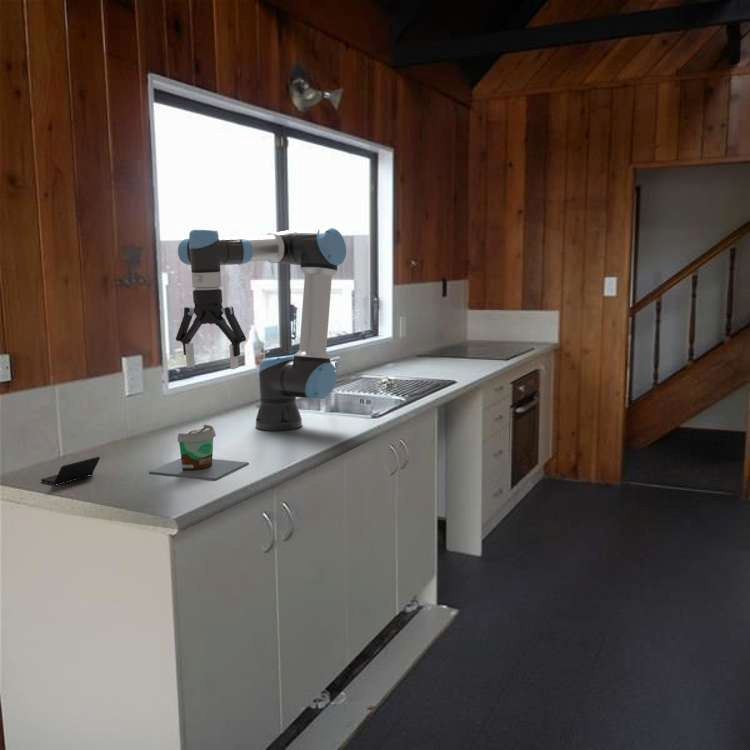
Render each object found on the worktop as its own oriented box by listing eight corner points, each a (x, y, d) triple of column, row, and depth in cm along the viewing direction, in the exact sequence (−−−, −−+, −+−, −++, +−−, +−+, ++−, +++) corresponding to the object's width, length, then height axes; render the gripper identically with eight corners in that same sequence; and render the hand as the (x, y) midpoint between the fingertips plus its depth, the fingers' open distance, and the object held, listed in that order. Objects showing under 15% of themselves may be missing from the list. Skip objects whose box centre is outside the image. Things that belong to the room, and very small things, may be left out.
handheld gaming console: (71, 465, 193) (84, 439, 189) (91, 483, 192) (104, 457, 188) (36, 483, 183) (49, 456, 179) (57, 502, 182) (70, 475, 178)
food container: (199, 474, 187) (197, 435, 186) (178, 472, 190) (177, 433, 188) (226, 462, 199) (224, 425, 197) (206, 460, 201) (205, 424, 200)
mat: (185, 458, 206) (185, 456, 206) (248, 464, 199) (248, 462, 199) (148, 473, 191) (148, 471, 191) (215, 480, 184) (215, 478, 184)
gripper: (158, 289, 197) (165, 368, 201) (241, 289, 189) (246, 371, 193) (175, 288, 204) (181, 364, 208) (255, 287, 196) (260, 366, 199)
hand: (212, 367), depth 200 cm, fingers open, 13 cm apart
